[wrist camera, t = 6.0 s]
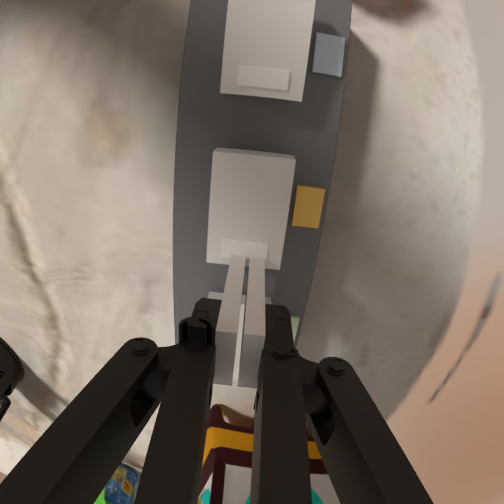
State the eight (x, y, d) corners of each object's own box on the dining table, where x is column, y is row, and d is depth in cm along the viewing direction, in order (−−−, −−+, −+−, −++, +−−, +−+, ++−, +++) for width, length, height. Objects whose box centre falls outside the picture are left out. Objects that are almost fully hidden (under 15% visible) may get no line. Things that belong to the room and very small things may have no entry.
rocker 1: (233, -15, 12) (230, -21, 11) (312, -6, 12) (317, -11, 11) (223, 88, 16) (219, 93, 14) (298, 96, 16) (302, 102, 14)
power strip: (215, -62, 14) (207, -90, 10) (341, -49, 15) (356, -74, 11) (185, 326, 28) (175, 359, 24) (287, 336, 28) (290, 371, 24)
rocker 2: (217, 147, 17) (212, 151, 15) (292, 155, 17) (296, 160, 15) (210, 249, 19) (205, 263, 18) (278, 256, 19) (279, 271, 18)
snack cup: (84, 438, 38) (64, 490, 29) (149, 460, 40) (135, 516, 30) (92, 473, 45) (79, 514, 36) (144, 490, 46) (135, 534, 37)
